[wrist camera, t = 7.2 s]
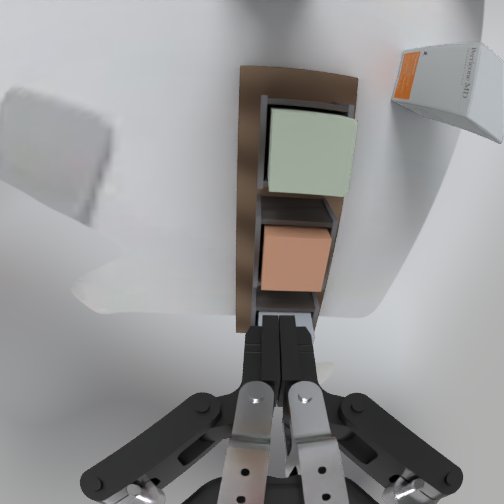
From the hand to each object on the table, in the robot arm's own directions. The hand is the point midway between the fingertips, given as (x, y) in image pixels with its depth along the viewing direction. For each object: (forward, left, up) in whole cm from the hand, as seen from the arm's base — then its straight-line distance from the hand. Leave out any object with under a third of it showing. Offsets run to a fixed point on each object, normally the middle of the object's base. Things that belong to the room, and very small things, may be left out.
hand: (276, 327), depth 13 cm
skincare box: (-18, -7, -17) cm, 26 cm away
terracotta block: (-1, +3, -15) cm, 15 cm away
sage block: (-5, -5, -13) cm, 15 cm away
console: (-1, +3, -17) cm, 17 cm away
